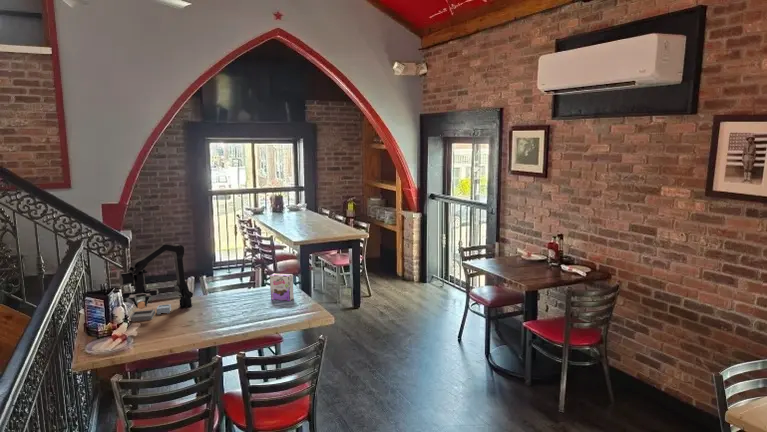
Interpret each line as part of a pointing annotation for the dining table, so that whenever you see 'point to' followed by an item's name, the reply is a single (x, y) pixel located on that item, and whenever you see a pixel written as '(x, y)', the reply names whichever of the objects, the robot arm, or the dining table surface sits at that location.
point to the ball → (141, 305)
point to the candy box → (281, 287)
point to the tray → (142, 315)
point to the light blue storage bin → (163, 309)
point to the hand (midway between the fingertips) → (141, 307)
